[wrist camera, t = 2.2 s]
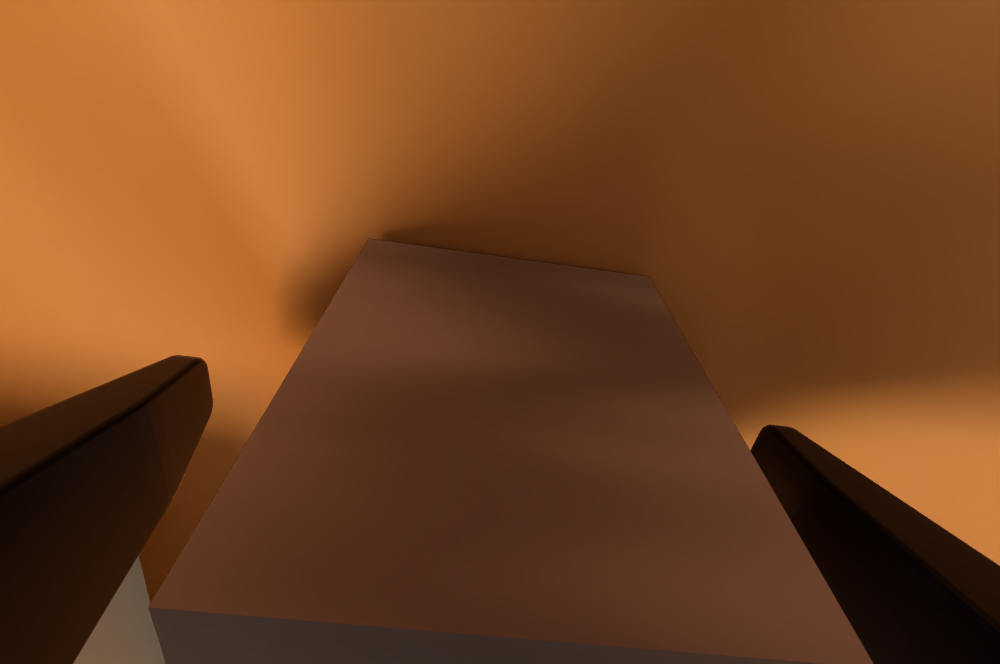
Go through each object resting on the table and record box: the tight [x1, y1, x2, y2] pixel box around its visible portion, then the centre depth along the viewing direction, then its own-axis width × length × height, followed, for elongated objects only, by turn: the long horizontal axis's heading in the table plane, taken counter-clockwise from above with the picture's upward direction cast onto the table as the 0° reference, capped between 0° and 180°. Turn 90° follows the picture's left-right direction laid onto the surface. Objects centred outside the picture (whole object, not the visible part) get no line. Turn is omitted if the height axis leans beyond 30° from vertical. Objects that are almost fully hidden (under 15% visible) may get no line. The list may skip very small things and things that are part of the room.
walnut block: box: [148, 239, 873, 664], centre depth 7 cm, size 4×4×6 cm
